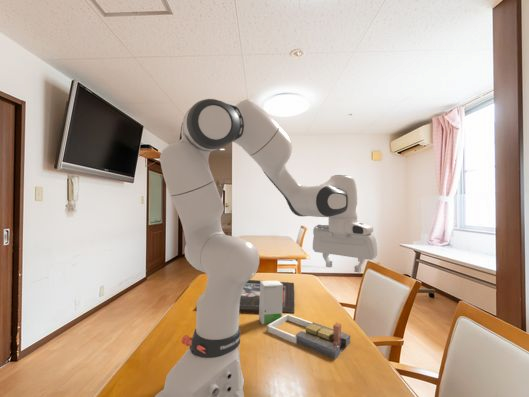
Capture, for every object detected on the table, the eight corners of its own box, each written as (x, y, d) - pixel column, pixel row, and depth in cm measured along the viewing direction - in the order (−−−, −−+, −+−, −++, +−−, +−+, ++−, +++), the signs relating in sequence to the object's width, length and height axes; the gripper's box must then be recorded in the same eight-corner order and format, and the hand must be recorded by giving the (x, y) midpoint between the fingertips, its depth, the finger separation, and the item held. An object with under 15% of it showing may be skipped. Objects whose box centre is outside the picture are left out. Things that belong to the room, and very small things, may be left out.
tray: (295, 346, 84) (296, 337, 84) (266, 333, 92) (266, 325, 92) (314, 331, 94) (315, 323, 94) (287, 321, 102) (287, 313, 102)
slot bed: (335, 362, 76) (335, 350, 76) (295, 345, 85) (295, 334, 85) (350, 345, 85) (350, 335, 85) (312, 331, 94) (313, 322, 94)
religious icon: (218, 282, 151) (218, 277, 151) (293, 286, 147) (294, 281, 147) (193, 311, 111) (193, 304, 111) (295, 318, 107) (296, 311, 107)
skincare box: (262, 326, 97) (263, 285, 98) (258, 318, 104) (259, 280, 104) (282, 324, 99) (283, 284, 100) (277, 316, 106) (278, 279, 106)
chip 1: (316, 343, 84) (316, 331, 84) (305, 339, 87) (305, 327, 87) (321, 338, 87) (321, 326, 87) (311, 334, 90) (311, 323, 90)
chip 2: (328, 348, 81) (328, 335, 81) (317, 343, 84) (317, 331, 84) (333, 343, 84) (334, 331, 85) (322, 339, 87) (323, 327, 87)
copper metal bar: (336, 351, 79) (336, 328, 80) (331, 349, 80) (332, 326, 81) (342, 345, 83) (342, 323, 83) (337, 343, 84) (337, 321, 84)
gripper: (309, 225, 85) (309, 266, 85) (372, 229, 72) (372, 277, 72) (317, 223, 90) (317, 262, 90) (378, 227, 77) (378, 272, 77)
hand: (342, 269), depth 81 cm, fingers open, 8 cm apart
